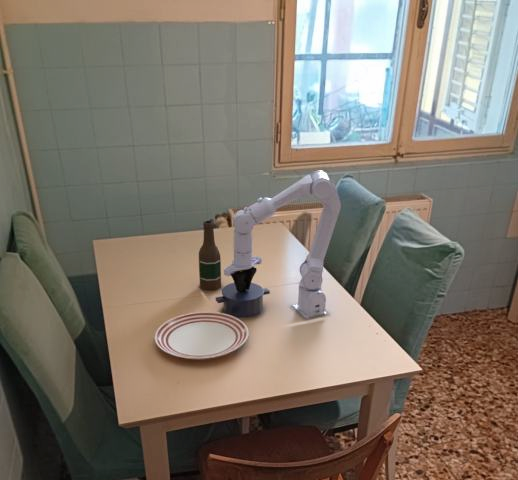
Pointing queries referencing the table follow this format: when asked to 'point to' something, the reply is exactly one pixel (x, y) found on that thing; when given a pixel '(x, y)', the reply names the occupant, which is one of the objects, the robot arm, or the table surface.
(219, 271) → the beer bottle
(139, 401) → the table surface
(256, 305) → the pot
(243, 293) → the lid
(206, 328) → the dinner plate
